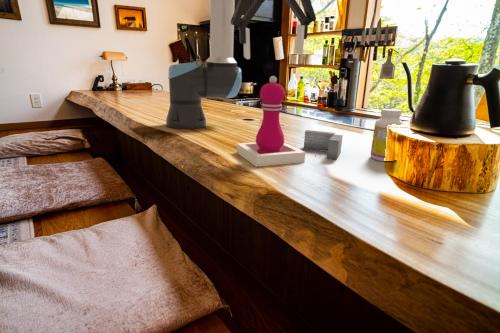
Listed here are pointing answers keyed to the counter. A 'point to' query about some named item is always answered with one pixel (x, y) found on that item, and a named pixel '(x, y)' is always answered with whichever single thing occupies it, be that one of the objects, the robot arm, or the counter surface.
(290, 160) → the socket
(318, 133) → the corner bracket
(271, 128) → the pepper mill
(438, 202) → the counter surface
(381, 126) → the supplement bottle
